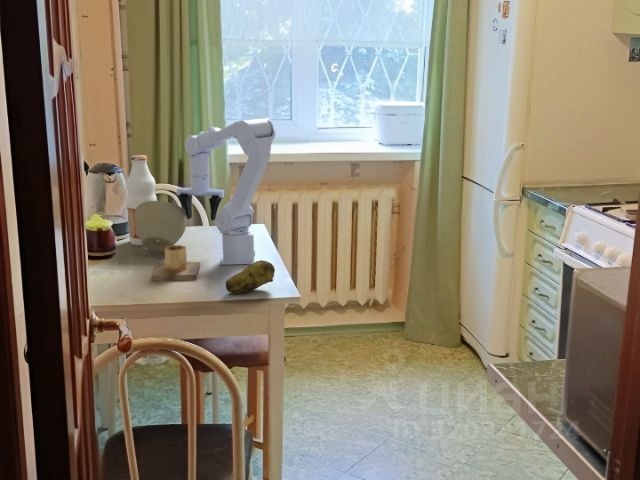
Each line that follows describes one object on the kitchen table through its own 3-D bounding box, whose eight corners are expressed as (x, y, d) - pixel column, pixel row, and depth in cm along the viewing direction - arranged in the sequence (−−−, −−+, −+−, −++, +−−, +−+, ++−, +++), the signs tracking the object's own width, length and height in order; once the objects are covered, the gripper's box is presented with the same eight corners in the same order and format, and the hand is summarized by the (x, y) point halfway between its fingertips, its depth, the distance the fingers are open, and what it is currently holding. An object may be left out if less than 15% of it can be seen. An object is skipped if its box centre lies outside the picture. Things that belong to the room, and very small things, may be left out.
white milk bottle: (123, 243, 252) (117, 157, 244) (143, 237, 260) (137, 153, 252) (146, 247, 247) (140, 159, 240) (165, 240, 255) (160, 155, 248)
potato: (226, 287, 209) (225, 258, 207) (274, 285, 210) (274, 256, 208) (225, 297, 201) (224, 267, 199) (275, 295, 202) (275, 266, 200)
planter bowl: (180, 233, 231) (183, 200, 236) (125, 232, 231) (130, 200, 236) (188, 257, 245) (192, 226, 250) (137, 256, 245) (141, 225, 250)
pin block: (200, 266, 227) (199, 246, 225) (196, 279, 215) (195, 258, 214) (158, 268, 226) (156, 247, 225) (152, 280, 215) (150, 259, 213)
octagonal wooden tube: (187, 265, 223) (186, 245, 222) (185, 271, 218) (184, 250, 216) (167, 265, 223) (166, 245, 221) (165, 271, 217) (163, 251, 216)
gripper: (171, 176, 233) (173, 220, 237) (218, 178, 230) (219, 223, 234) (180, 172, 240) (182, 215, 244) (226, 174, 237) (227, 218, 241)
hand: (201, 219), depth 239 cm, fingers open, 7 cm apart
